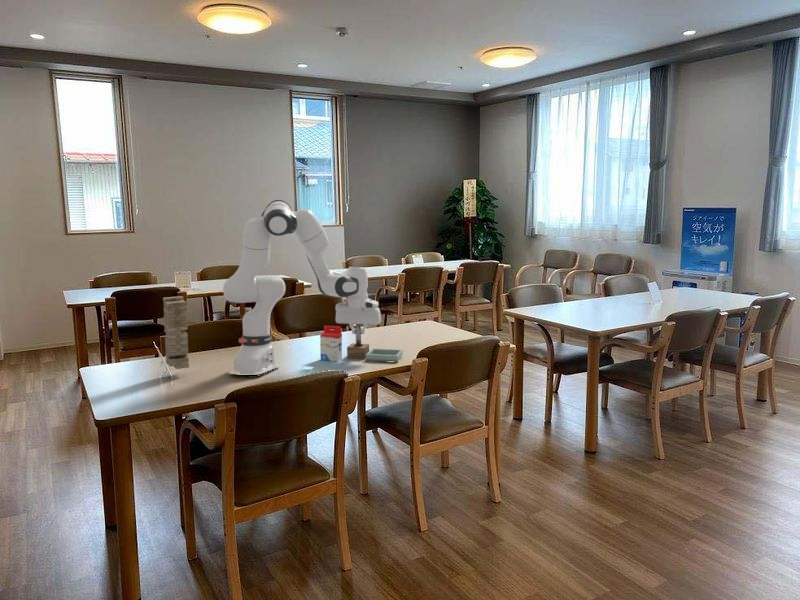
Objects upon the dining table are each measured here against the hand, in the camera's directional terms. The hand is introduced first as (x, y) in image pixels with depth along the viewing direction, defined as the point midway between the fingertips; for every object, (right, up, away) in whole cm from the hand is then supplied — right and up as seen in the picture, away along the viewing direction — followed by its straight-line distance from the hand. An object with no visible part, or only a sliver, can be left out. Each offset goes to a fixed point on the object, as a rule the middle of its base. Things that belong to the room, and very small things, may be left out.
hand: (358, 333), depth 267 cm
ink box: (-12, -11, -4) cm, 17 cm away
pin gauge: (0, -6, +1) cm, 6 cm away
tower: (-74, -13, -16) cm, 77 cm away
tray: (+12, -11, -2) cm, 16 cm away
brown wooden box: (0, -10, +2) cm, 11 cm away
